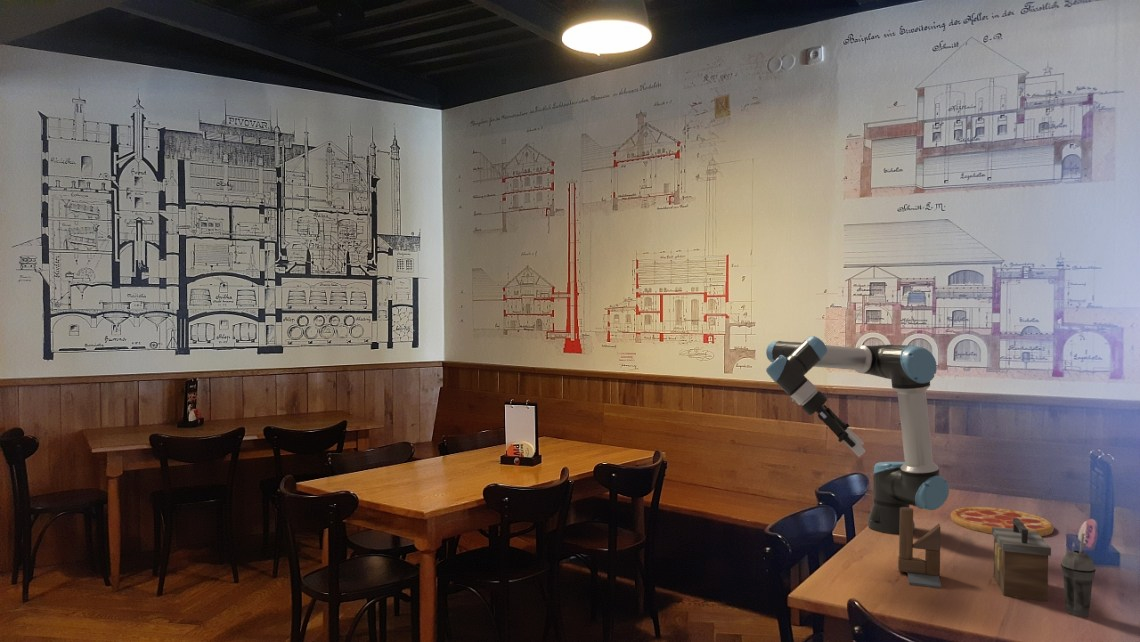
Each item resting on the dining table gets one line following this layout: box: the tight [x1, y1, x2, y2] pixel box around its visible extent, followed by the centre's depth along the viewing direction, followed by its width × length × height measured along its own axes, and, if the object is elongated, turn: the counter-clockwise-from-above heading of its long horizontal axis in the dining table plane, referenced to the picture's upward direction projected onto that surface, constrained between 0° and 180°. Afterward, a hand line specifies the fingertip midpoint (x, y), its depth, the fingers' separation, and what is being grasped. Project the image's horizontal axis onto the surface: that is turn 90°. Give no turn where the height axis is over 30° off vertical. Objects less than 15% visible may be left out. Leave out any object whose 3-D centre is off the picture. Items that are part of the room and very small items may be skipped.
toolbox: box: [991, 518, 1052, 602], centre depth 209 cm, size 17×11×18 cm, turn 160°
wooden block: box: [897, 507, 941, 577], centre depth 220 cm, size 4×11×18 cm, turn 69°
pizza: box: [950, 506, 1055, 538], centre depth 273 cm, size 32×32×3 cm
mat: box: [906, 572, 943, 589], centre depth 217 cm, size 16×8×1 cm, turn 160°
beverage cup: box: [1060, 533, 1096, 618], centre depth 191 cm, size 7×7×20 cm
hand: (861, 450), depth 230 cm, fingers open, 13 cm apart
